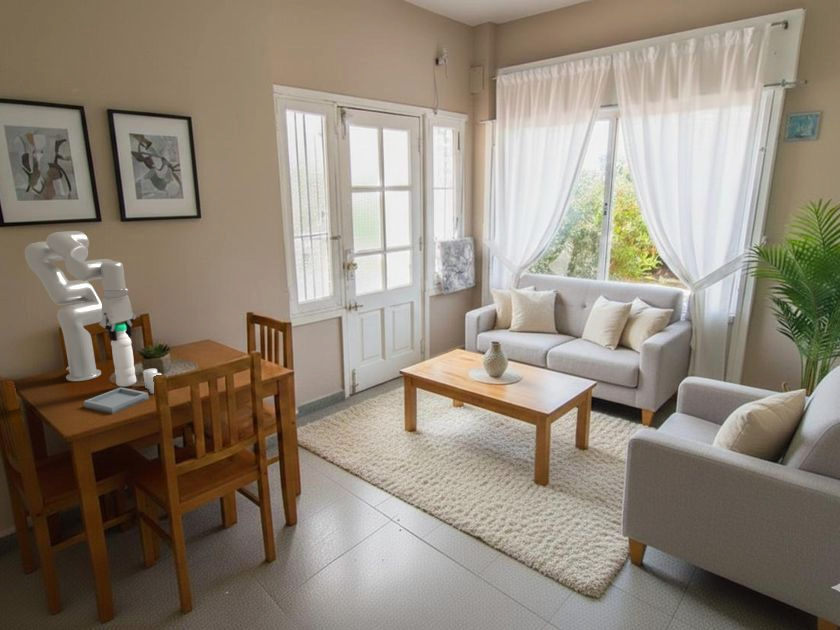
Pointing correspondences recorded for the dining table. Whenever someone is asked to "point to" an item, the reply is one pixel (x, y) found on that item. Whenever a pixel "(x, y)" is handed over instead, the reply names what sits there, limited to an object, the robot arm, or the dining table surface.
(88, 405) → the tray
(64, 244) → the robot arm
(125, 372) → the water bottle
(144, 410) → the dining table surface
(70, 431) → the dining table surface
